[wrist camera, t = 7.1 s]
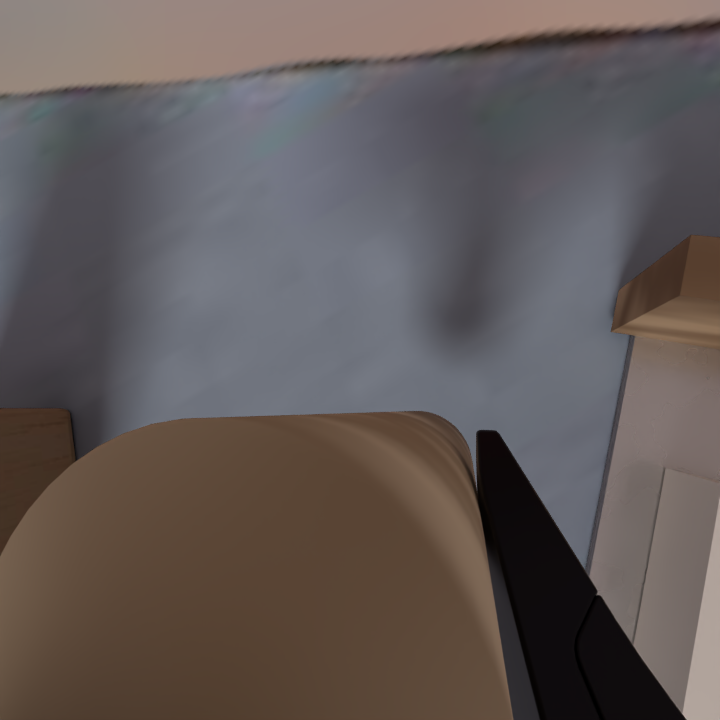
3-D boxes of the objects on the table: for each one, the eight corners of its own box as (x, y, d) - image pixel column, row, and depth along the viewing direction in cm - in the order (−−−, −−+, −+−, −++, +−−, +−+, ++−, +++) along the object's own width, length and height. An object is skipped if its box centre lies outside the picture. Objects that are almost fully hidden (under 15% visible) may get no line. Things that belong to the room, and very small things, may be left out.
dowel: (493, 449, 14) (694, 719, 2) (436, 540, 14) (259, 1368, 2) (401, 391, 15) (139, 316, 3) (349, 476, 16) (-115, 747, 3)
